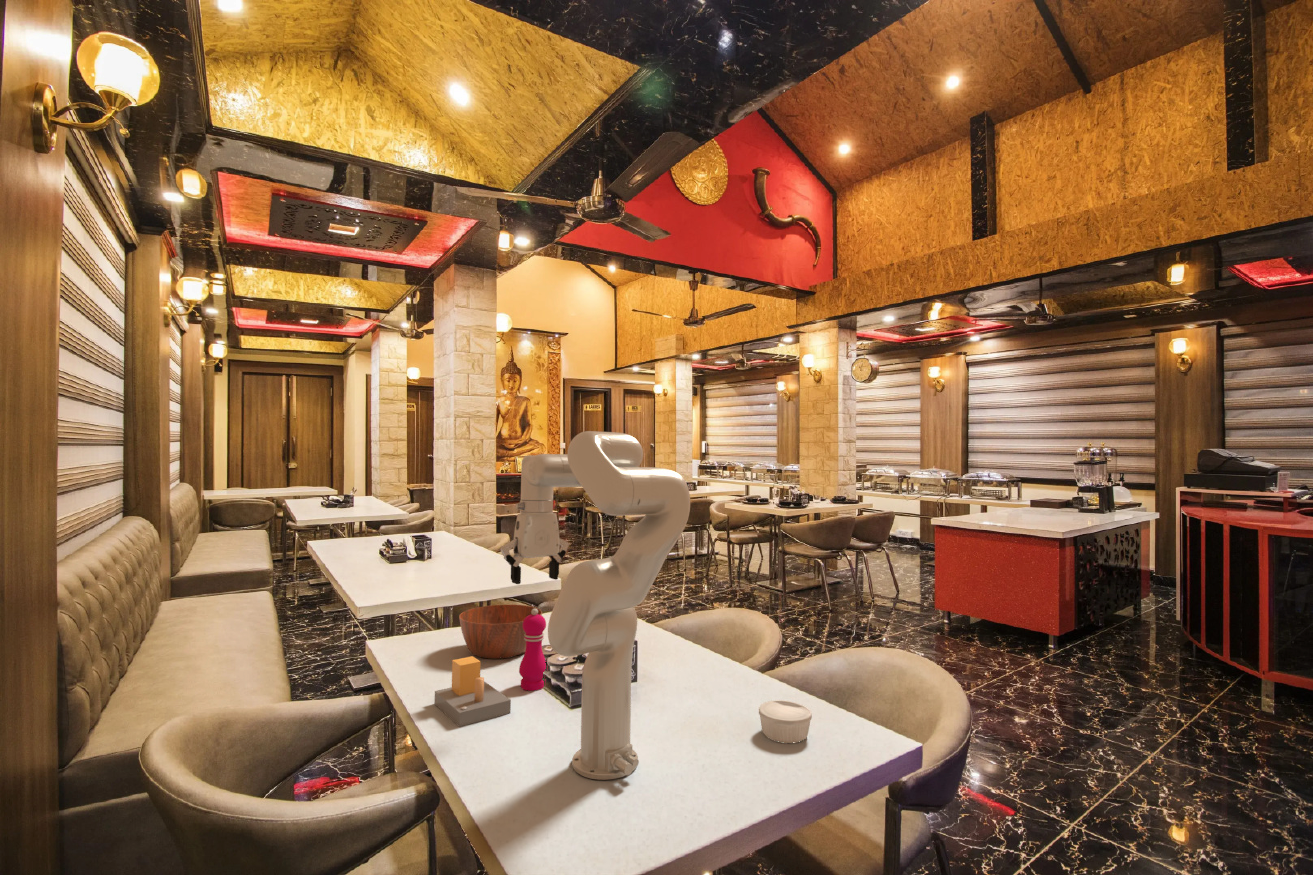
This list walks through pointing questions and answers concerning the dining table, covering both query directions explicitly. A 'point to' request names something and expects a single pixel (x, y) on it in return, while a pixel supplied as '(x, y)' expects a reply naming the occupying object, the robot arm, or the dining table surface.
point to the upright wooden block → (465, 675)
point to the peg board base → (473, 703)
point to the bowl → (495, 630)
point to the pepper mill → (533, 652)
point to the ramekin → (785, 721)
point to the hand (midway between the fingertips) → (535, 580)
